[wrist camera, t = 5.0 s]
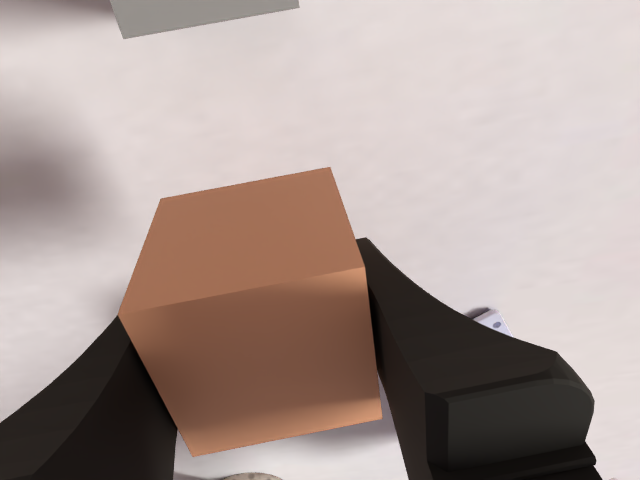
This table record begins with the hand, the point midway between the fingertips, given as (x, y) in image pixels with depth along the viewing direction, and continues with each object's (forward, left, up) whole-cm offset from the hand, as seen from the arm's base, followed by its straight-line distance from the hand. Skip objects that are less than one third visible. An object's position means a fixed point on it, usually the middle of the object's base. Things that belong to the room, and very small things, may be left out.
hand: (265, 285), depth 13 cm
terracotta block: (0, 0, -2) cm, 2 cm away
